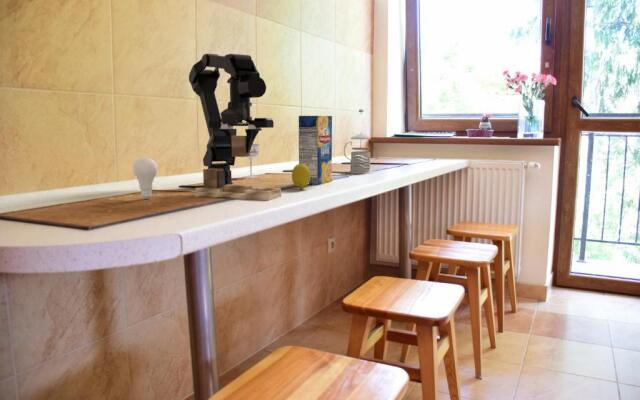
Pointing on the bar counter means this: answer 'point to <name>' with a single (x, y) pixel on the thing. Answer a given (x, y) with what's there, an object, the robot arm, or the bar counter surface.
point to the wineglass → (253, 153)
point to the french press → (354, 160)
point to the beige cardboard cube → (239, 146)
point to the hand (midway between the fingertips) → (241, 152)
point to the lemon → (301, 175)
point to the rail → (245, 195)
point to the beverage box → (316, 147)
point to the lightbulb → (145, 174)
